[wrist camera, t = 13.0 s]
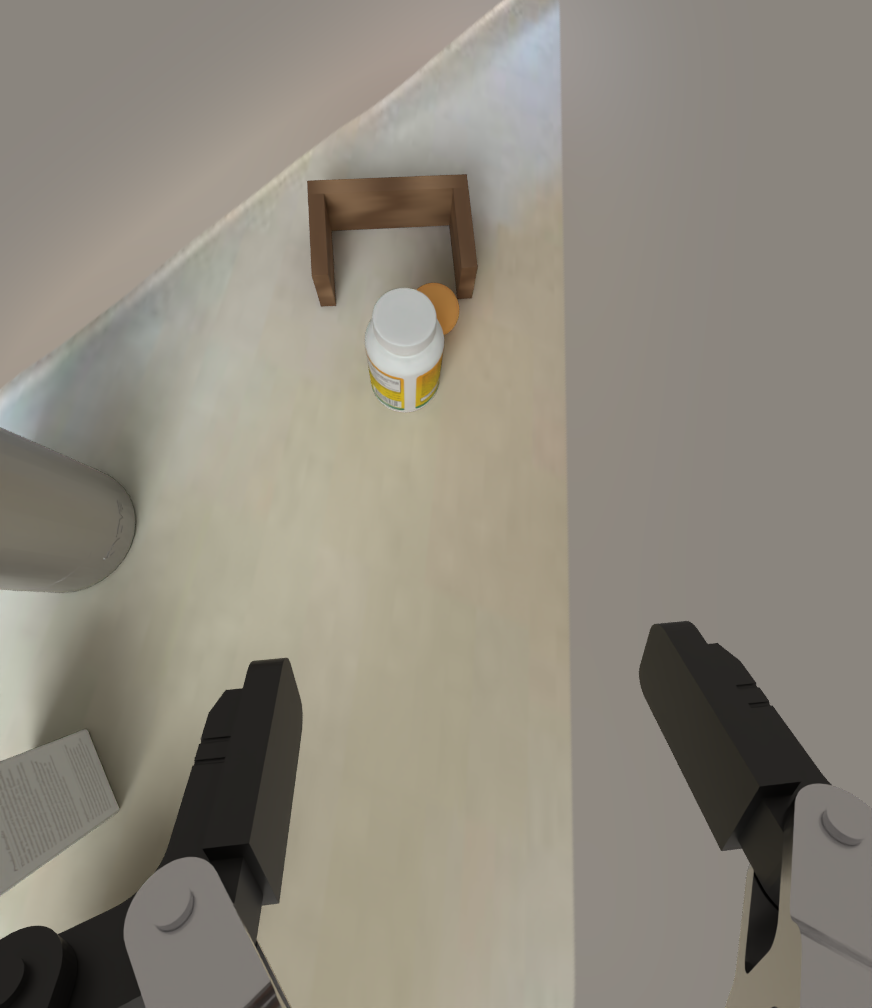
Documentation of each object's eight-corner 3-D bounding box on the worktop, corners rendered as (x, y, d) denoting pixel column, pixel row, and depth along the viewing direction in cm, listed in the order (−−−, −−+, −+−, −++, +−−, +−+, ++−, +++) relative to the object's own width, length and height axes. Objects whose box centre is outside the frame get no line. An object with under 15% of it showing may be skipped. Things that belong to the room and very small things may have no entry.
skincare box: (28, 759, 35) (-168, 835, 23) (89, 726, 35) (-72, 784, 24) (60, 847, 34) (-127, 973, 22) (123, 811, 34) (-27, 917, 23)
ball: (438, 321, 38) (451, 270, 38) (393, 321, 39) (406, 272, 40) (460, 347, 41) (472, 300, 42) (417, 346, 43) (429, 301, 43)
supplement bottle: (375, 417, 41) (364, 360, 31) (368, 355, 42) (354, 281, 32) (443, 410, 41) (453, 351, 32) (434, 348, 42) (440, 273, 33)
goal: (321, 306, 42) (311, 275, 38) (316, 219, 44) (307, 180, 40) (471, 298, 43) (477, 266, 39) (461, 212, 45) (466, 174, 41)
